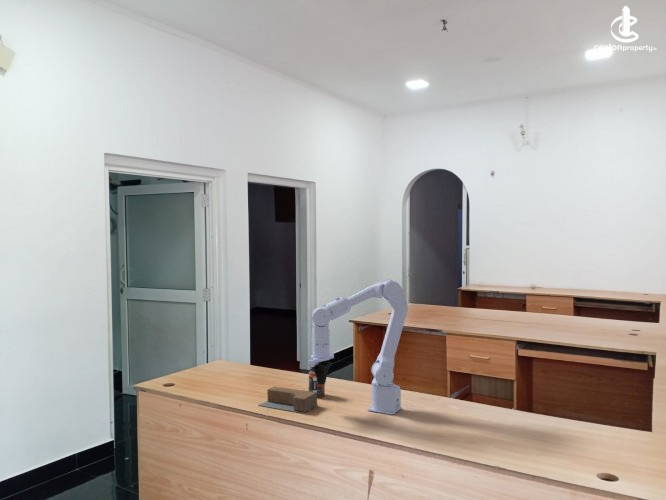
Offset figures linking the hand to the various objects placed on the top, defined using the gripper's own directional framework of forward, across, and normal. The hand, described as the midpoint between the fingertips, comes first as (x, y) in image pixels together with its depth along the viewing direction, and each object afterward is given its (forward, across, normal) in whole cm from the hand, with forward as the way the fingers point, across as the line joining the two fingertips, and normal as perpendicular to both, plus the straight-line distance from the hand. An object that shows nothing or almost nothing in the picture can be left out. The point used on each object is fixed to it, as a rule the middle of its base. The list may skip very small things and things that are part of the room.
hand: (321, 383), depth 174 cm
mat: (+9, 0, -13) cm, 16 cm away
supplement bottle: (+10, -15, -10) cm, 20 cm away
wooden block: (+7, 0, -4) cm, 8 cm away
